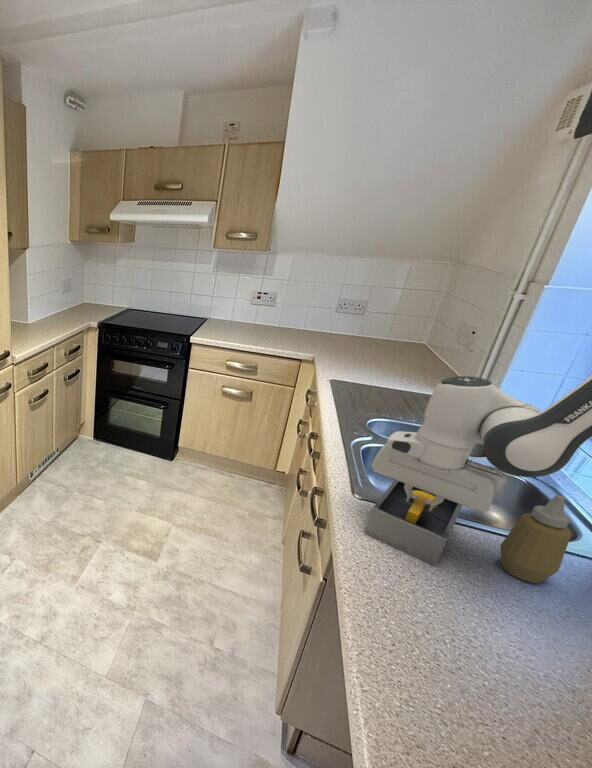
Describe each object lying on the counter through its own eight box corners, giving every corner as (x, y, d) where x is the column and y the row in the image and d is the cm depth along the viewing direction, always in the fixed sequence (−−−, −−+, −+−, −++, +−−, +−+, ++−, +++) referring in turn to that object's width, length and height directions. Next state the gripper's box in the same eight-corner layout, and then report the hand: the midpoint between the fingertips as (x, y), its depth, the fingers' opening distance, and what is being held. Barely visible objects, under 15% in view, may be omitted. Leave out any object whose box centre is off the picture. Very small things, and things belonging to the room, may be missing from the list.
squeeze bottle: (557, 595, 77) (603, 517, 70) (499, 576, 81) (538, 500, 74) (541, 567, 83) (582, 493, 77) (488, 551, 87) (522, 479, 81)
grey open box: (388, 500, 103) (396, 477, 101) (453, 526, 94) (463, 502, 92) (364, 533, 92) (372, 507, 89) (435, 566, 83) (447, 539, 80)
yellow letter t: (439, 503, 94) (442, 494, 93) (424, 528, 86) (428, 519, 85) (411, 492, 98) (414, 483, 97) (395, 516, 90) (398, 507, 89)
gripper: (510, 467, 80) (483, 524, 85) (387, 429, 95) (370, 480, 100) (507, 478, 76) (479, 538, 81) (379, 437, 91) (362, 489, 96)
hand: (418, 505), depth 91 cm, fingers closed on yellow letter t, 2 cm apart
